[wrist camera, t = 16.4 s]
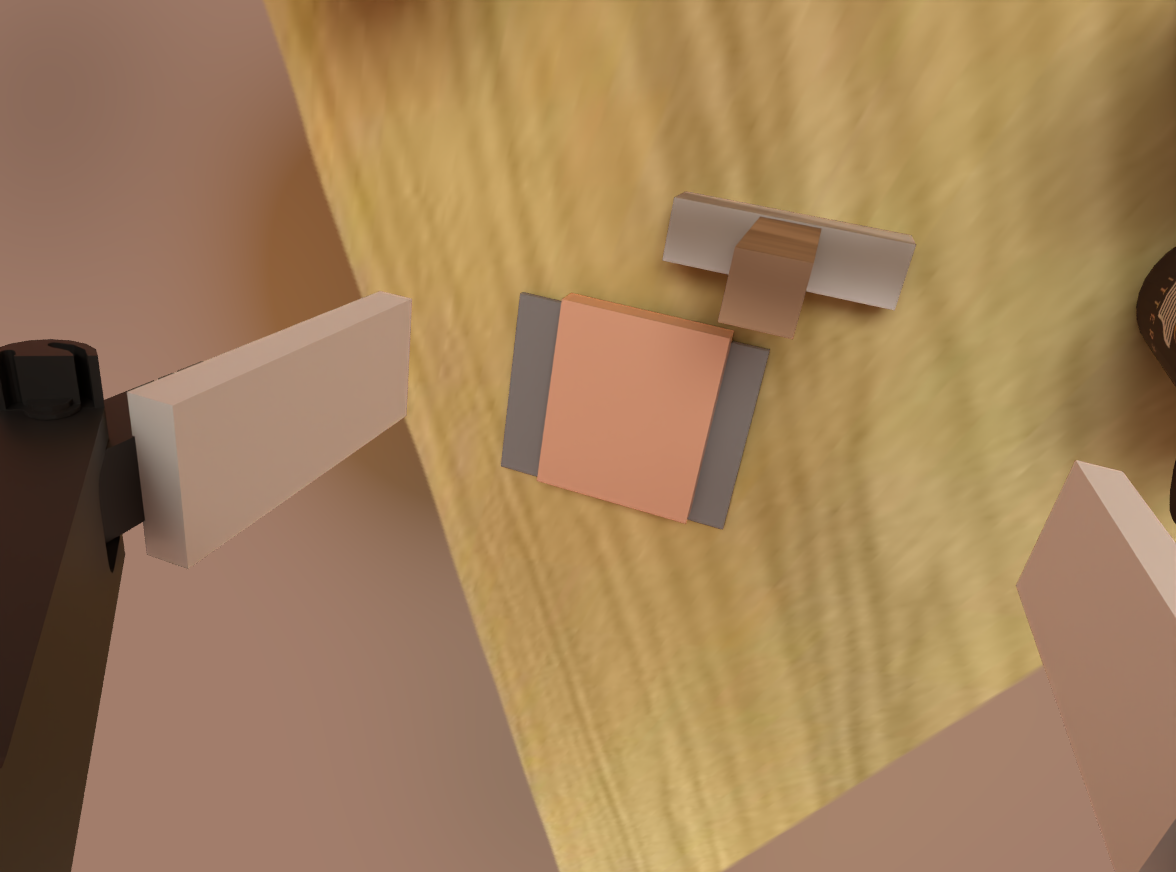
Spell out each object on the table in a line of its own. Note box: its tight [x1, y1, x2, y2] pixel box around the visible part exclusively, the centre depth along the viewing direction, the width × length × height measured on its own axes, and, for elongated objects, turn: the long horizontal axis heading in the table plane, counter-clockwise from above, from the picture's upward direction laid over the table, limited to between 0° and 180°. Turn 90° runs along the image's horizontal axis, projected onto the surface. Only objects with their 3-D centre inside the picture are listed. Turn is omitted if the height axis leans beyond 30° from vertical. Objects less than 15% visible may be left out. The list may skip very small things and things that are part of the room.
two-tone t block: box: [662, 192, 916, 339], centre depth 33 cm, size 3×11×12 cm, turn 82°
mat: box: [501, 292, 770, 529], centre depth 44 cm, size 11×14×1 cm
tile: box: [537, 293, 734, 524], centre depth 43 cm, size 2×9×11 cm
